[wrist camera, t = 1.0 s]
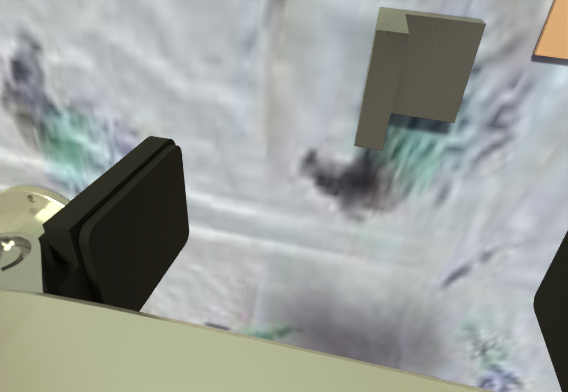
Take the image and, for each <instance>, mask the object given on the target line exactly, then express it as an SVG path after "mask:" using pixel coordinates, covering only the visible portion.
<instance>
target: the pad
mask: <svg viewBox="0 0 568 392" xmlns="http://www.w3.org/2000/svg"><path fill="white" fill-rule="evenodd" d="M534 54H535V55H540V56H548V57H556V58H563V59H568V0H554V2H553V5H552V7H551V10H550V13H549V15H548V18H547V20H546V23H545V25H544V28H543V31H542V33H541V36H540V38H539V41H538V43H537V46H536V49H535V51H534Z"/></svg>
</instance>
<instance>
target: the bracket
mask: <svg viewBox="0 0 568 392" xmlns="http://www.w3.org/2000/svg"><path fill="white" fill-rule="evenodd" d="M485 25H486V23H485V22H483V21H482V20H481V19H473V18H465V17H457V16H449V15H441V14H433V13H425V12H416V11H408V10H400V9H392V8H384V7H380V9H379V14H378V19H377V24H376V30H375V35H374V40H373V46H372V51H371V56H370V61H369V67H368V72H367V77H366V82H365V88H364V93H363V98H362V104H361V110H360V115H359V121H358V127H357V133H356V139H355V144H354V146H358V147H364V148H370V149H376V150H382V149H383V145H384V140H385V136H386V132H387V127H388V123H389V119H390V114H391V113H394V114H400V115H407V116H413V117H419V118H426V119H432V120H439V121H445V122H452V123H454V122H455V119H456V116H457V113H458V110H459V107H460V104H461V100H462V97H463V94H464V91H465V88H466V85H467V82H468V79H469V75H470V72H471V69H472V66H473V63H474V60H475V57H476V53H477V50H478V47H479V44H480V41H481V38H482V35H483V32H484V28H485Z"/></svg>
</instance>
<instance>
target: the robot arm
mask: <svg viewBox="0 0 568 392" xmlns="http://www.w3.org/2000/svg"><path fill="white" fill-rule="evenodd" d="M188 236H189V224H188V213H187V203H186V192H185V182H184V172H183V161H182V152H181V148H180V147H179V146H176V145H175V142H174V141H173V140H172V139H167V138H160V137H153V136H150V137H148V138H146V139H145V140H144V141H143V142H142V143H140V144H139V145H138V146H137V147H136V148H134V149H133V150H132V151H131V152H129V153H128V154H127V155H126V156H125V157H123V158H122V159H121V160H120V161H119V162H117V163H116V164H115V165H114V166H113V167H111V168H110V169H109V170H108V171H106V172H105V173H104V174H103V175H102V176H100V177H99V178H98V179H97V180H96V181H94V182H93V183H92V184H91V185H90V186H88V187H87V188H86V189H85V190H83V191H82V192H81V193H80V194H79V195H77V196H76V197H75V198H74V199H73V200H71V201H69V200H67V199H65V198H63V197H62V196H60V195H58V194H56V193H53V192H51V191H48V190H46V189H43V188H38V187H34V186H16V187H12V188H9V189H7V190H5V191H3V192H2V193H0V392H495V391H491V390H487V389H482V388H478V387H474V386H469V385H465V384H461V383H456V382H452V381H448V380H443V379H439V378H435V377H430V376H426V375H422V374H417V373H413V372H408V371H404V370H399V369H395V368H391V367H386V366H382V365H377V364H373V363H368V362H364V361H360V360H355V359H351V358H346V357H342V356H337V355H333V354H329V353H324V352H320V351H315V350H311V349H306V348H302V347H297V346H293V345H288V344H284V343H279V342H275V341H270V340H266V339H262V338H257V337H252V336H248V335H243V334H239V333H234V332H230V331H225V330H220V329H216V328H211V327H207V326H202V325H198V324H193V323H188V322H184V321H179V320H175V319H170V318H166V317H161V316H157V315H152V314H147V313H143V312H139V311H140V310H141V308H142V307H143V305H144V304H145V302H146V301H147V300H148V298H149V297H150V295H151V294H152V292H153V291H154V289H155V288H156V286H157V285H158V283H159V282H160V281H161V279H162V278H163V276H164V275H165V273H166V272H167V270H168V269H169V267H170V266H171V265H172V263H173V262H174V260H175V259H176V257H177V256H178V254H179V253H180V251H181V250H182V248H183V247H184V246H185V244H186V242H187V240H188ZM534 311H535V314H536V317H537V320H538V323H539V326H540V329H541V332H542V334H543V337H544V340H545V343H546V346H547V349H548V352H549V355H550V358H551V361H552V364H553V367H554V370H555V372H556V375H557V378H558V381H559V384H560V387H561V390H562V392H568V231H567V233H566V235H565V237H564V239H563V241H562V243H561V245H560V247H559V249H558V251H557V253H556V255H555V257H554V259H553V261H552V263H551V265H550V267H549V269H548V271H547V273H546V275H545V276H544V278H543V280H542V282H541V284H540V286H539V288H538V290H537V292H536V295H535V297H534Z"/></svg>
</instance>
